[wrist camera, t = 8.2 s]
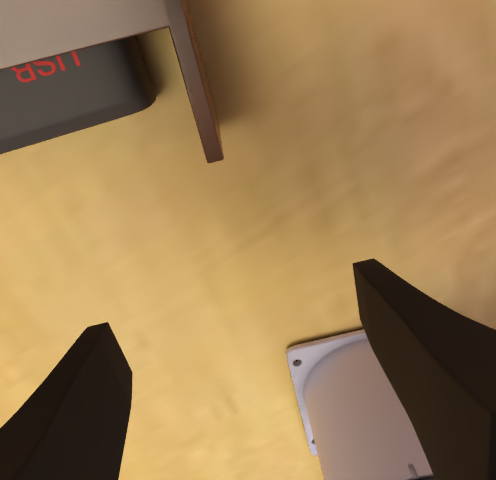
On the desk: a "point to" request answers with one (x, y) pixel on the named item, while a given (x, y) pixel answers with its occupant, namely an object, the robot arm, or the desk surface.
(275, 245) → the desk surface
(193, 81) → the display stand
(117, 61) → the usb drive
